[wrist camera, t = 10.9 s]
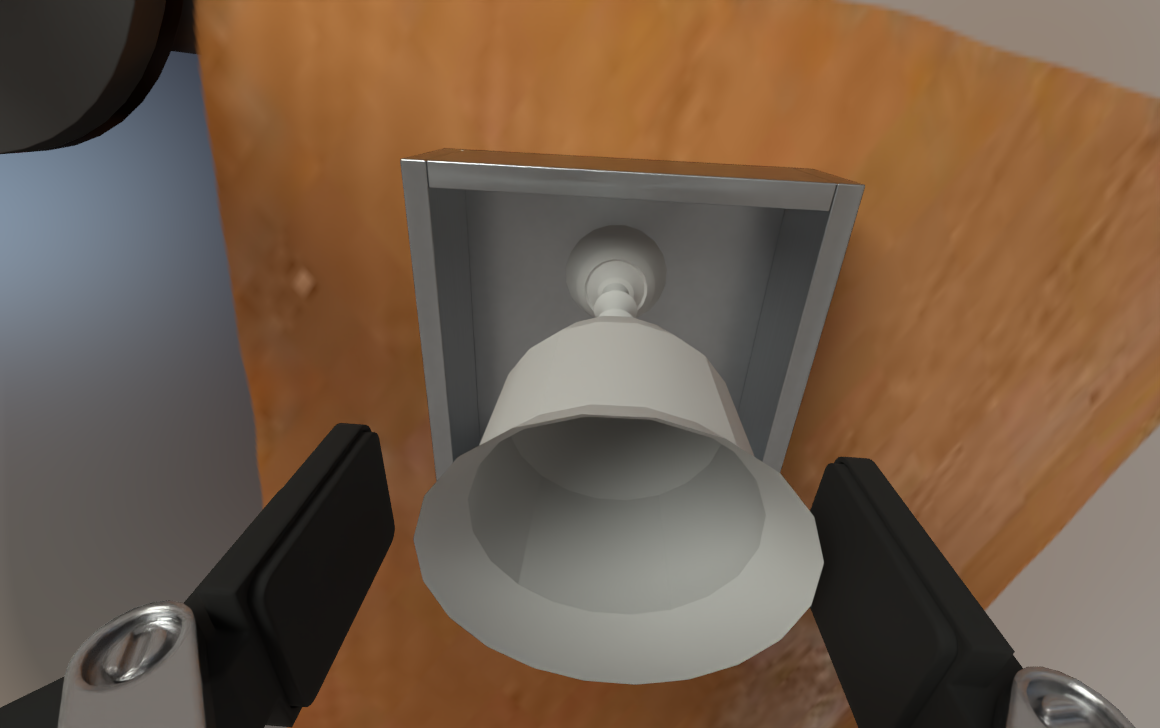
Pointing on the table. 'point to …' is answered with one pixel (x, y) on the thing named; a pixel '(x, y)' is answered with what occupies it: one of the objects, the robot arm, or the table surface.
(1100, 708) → the robot arm
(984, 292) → the table surface
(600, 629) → the chalice
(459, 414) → the grey rectangular tray
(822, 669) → the table surface
